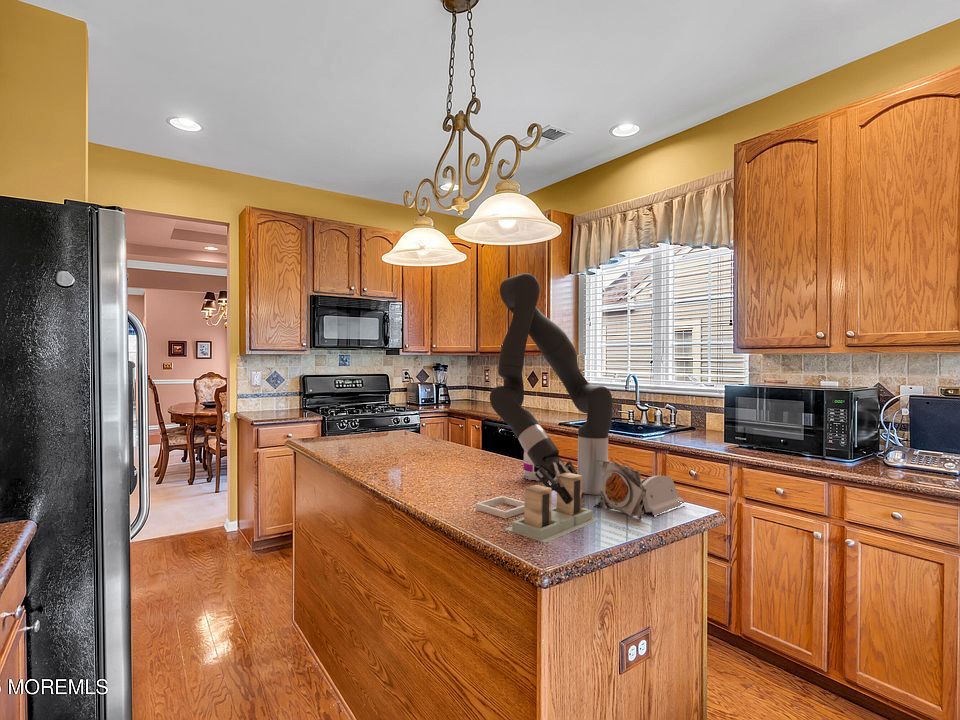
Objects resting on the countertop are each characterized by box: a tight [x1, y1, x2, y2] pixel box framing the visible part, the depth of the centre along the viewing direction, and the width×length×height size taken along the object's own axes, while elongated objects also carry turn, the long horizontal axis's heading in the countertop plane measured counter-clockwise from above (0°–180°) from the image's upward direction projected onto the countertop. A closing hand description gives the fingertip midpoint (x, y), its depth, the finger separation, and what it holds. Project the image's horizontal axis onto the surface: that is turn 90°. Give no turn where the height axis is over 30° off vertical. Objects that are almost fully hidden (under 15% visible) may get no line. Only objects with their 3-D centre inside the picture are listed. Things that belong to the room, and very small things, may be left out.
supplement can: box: [522, 449, 541, 482], centre depth 173 cm, size 8×8×15 cm
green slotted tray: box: [504, 505, 601, 544], centre depth 123 cm, size 23×12×3 cm, turn 136°
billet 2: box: [556, 473, 583, 516], centre depth 128 cm, size 4×5×10 cm
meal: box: [593, 460, 646, 521], centre depth 136 cm, size 15×4×13 cm, turn 35°
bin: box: [475, 495, 525, 519], centre depth 134 cm, size 11×11×2 cm
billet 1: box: [523, 484, 553, 528], centre depth 118 cm, size 4×5×10 cm
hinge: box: [640, 475, 685, 516], centre depth 141 cm, size 17×5×10 cm, turn 130°
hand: (575, 500), depth 126 cm, fingers closed on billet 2, 4 cm apart
